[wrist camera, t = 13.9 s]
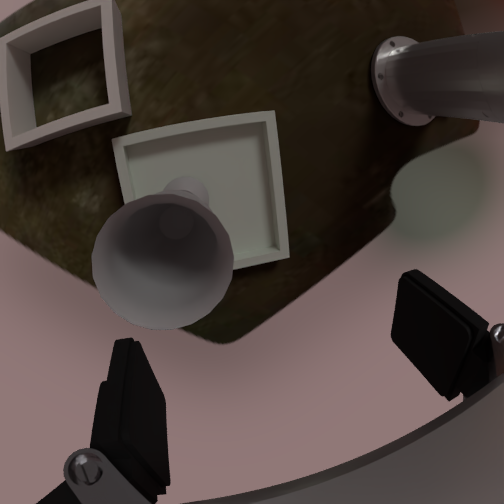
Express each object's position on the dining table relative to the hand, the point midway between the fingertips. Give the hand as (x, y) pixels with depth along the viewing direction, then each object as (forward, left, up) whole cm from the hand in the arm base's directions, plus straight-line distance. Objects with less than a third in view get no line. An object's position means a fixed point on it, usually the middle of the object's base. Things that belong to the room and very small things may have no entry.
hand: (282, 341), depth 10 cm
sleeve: (+12, -16, -25) cm, 32 cm away
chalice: (+2, 0, -24) cm, 24 cm away
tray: (0, 0, -25) cm, 25 cm away
